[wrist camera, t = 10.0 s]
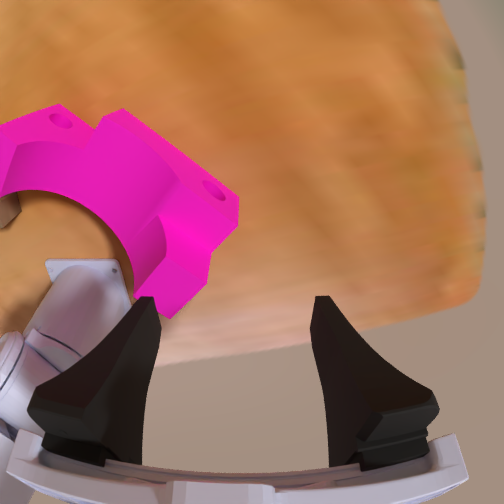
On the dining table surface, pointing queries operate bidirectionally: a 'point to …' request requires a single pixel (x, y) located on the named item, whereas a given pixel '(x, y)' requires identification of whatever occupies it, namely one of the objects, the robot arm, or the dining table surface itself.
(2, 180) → the toy block
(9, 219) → the walnut rail
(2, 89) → the dining table surface
